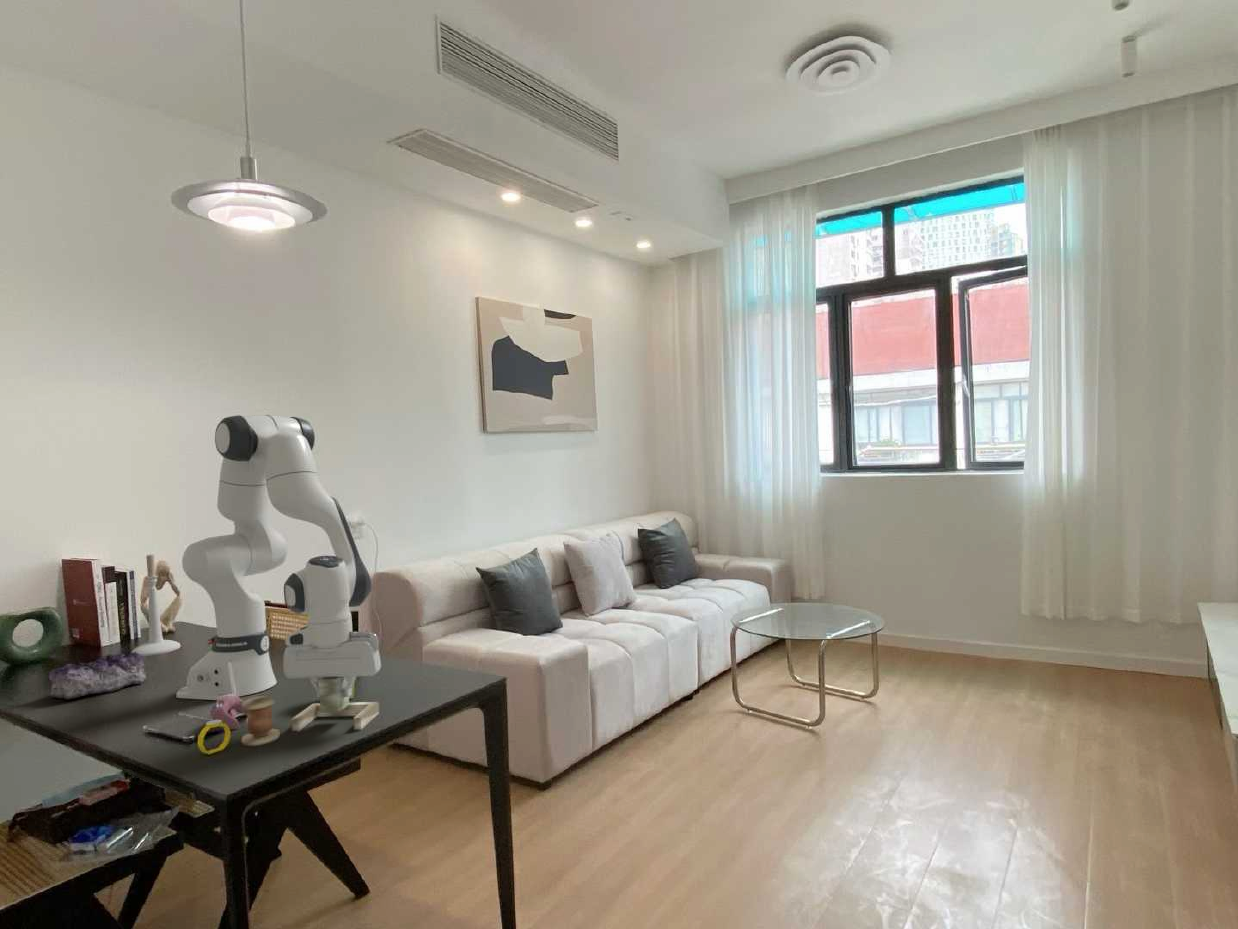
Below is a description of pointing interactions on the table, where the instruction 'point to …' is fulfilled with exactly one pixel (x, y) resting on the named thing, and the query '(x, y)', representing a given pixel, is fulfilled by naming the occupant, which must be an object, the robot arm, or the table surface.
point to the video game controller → (228, 710)
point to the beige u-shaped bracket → (338, 714)
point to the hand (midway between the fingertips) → (334, 696)
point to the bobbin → (259, 721)
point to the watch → (201, 736)
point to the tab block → (332, 694)
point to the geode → (97, 676)
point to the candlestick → (154, 620)
